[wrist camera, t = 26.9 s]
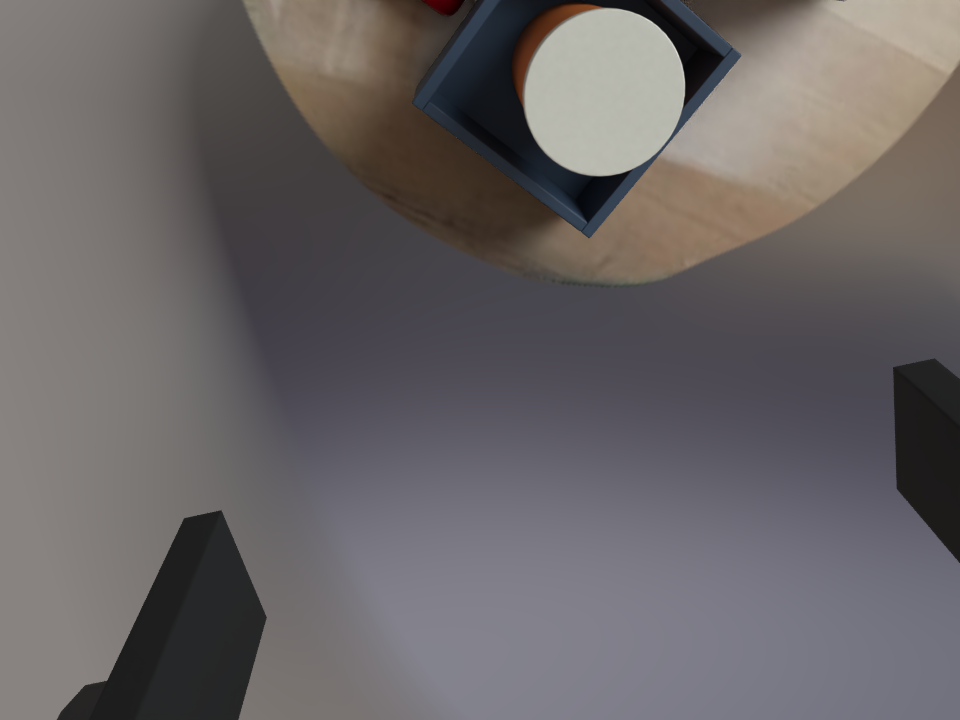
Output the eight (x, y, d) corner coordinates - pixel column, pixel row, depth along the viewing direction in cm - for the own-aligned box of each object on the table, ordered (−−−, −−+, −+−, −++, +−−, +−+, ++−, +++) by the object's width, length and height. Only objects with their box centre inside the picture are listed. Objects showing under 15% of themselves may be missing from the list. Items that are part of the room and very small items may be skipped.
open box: (416, 87, 47) (411, 103, 42) (547, -100, 43) (559, -108, 38) (575, 210, 50) (589, 238, 45) (710, 45, 46) (742, 55, 41)
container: (483, 80, 46) (490, 112, 36) (563, -31, 44) (595, -29, 34) (579, 156, 48) (613, 207, 38) (661, 53, 46) (719, 79, 36)
